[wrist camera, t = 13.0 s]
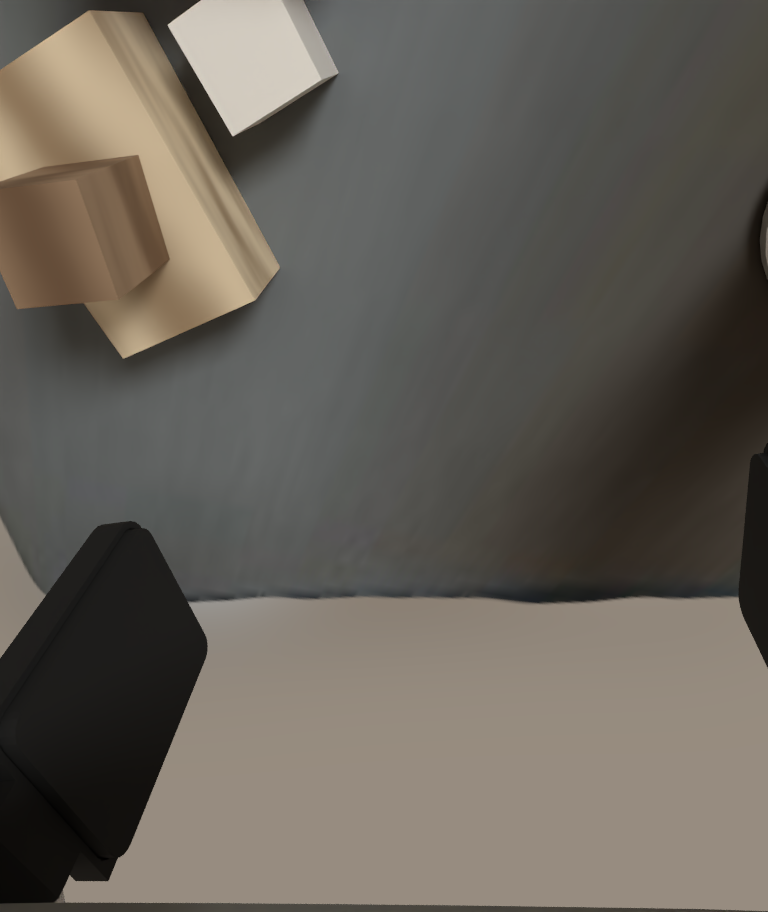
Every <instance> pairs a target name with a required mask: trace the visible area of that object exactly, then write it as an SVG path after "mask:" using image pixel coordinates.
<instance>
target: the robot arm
mask: <svg viewBox="0 0 768 912" xmlns="http://www.w3.org/2000/svg"><path fill="white" fill-rule="evenodd" d="M760 250H761V261H762V264H763V267H764V270H765V274H766V277H767V279H768V202H767V206H766V209H765V212H764V215H763V219H762V226H761V234H760ZM739 603H740V608H741V611H742V614H743V617H744V619H745V621H746V623H747V625H748V628H749V630H750V632H751V634H752V636H753V638H754V640H755V642H756V644H757V646H758V648H759V650H760V653H761V655H762V657H763V659H764V661H765V663H766V665H767V667H768V443H767V444H766V446H765V448H764V453H760V454H754V455H753V456H752V458H751V462H750V471H749V482H748V493H747V504H746V515H745V526H744V537H743V548H742V559H741V570H740V581H739ZM206 655H207V639H206V636H205V634H204V632H203V630H202V628H201V626H200V624H199V622H198V621H197V619H196V617H195V615H194V613H193V611H192V609H191V607H190V606H189V604H188V602H187V600H186V598H185V596H184V594H183V593H182V591H181V589H180V587H179V585H178V583H177V581H176V579H175V578H174V576H173V574H172V572H171V570H170V568H169V566H168V564H167V563H166V561H165V559H164V557H163V555H162V553H161V551H160V549H159V548H158V546H157V544H156V542H155V540H154V538H153V536H152V535H151V533H150V532H149V531H148V530H147V529H143V528H141V526H140V525H139V524H137V523H136V522H132V521H128V522H120V523H112V524H104V525H100V526H98V527H97V528H96V529H95V530H94V531H93V532H92V533H91V535H90V536H89V537H88V539H87V540H86V542H85V543H84V544H83V546H82V547H81V548H80V550H79V551H78V553H77V554H76V555H75V557H74V558H73V559H72V561H71V562H70V564H69V565H68V566H67V568H66V569H65V570H64V572H63V573H62V574H61V576H60V577H59V579H58V580H57V581H56V583H55V584H54V585H53V587H52V588H51V590H50V591H49V592H48V594H47V595H46V596H45V598H44V599H43V601H42V602H41V603H40V605H39V606H38V607H37V609H36V610H35V611H34V613H33V614H32V616H31V617H30V618H29V620H28V621H27V623H26V624H25V625H24V627H23V628H22V629H21V631H20V632H19V633H18V635H17V636H16V638H15V639H14V640H13V642H12V643H11V644H10V646H9V647H8V649H7V650H6V651H5V653H4V654H3V655H2V657H1V658H0V912H768V911H739V910H737V911H736V910H708V909H707V910H705V909H654V908H653V909H652V908H650V909H649V908H586V907H520V906H519V907H518V906H448V905H446V906H445V905H442V906H441V905H352V904H350V905H348V904H343V905H342V904H240V903H238V904H237V903H235V904H234V903H233V904H232V903H65V899H64V894H63V888H64V886H65V884H66V882H67V879H68V877H69V875H71V877H72V878H73V879H74V880H75V881H108V880H109V878H110V875H111V873H112V871H113V868H114V866H115V863H116V861H117V859H118V857H120V856H122V855H124V853H125V852H126V851H127V850H128V848H129V846H130V844H131V842H132V839H133V836H134V834H135V832H136V829H137V826H138V824H139V822H140V819H141V817H142V814H143V812H144V809H145V807H146V804H147V802H148V800H149V797H150V794H151V792H152V789H153V787H154V785H155V782H156V780H157V777H158V775H159V772H160V769H161V767H162V765H163V762H164V760H165V757H166V755H167V753H168V750H169V748H170V745H171V743H172V740H173V737H174V735H175V732H176V730H177V728H178V725H179V723H180V720H181V718H182V715H183V713H184V710H185V708H186V706H187V703H188V700H189V698H190V696H191V693H192V691H193V688H194V686H195V683H196V681H197V678H198V676H199V673H200V671H201V668H202V666H203V664H204V661H205V659H206Z"/></svg>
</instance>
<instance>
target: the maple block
mask: <svg viewBox="0 0 768 912" xmlns="http://www.w3.org/2000/svg"><path fill="white" fill-rule="evenodd" d="M133 155H139V159H140V162H141V165H142V169H143V172H144V175H145V179H146V182H147V185H148V188H149V192H150V195H151V198H152V202H153V205H154V208H155V212H156V215H157V218H158V222H159V225H160V228H161V232H162V235H163V238H164V241H165V245H166V248H167V251H168V255H169V258H170V260H168V261H167V262H166V263H165V264H163V265H162V266H161V267H159V268H158V269H157V270H156V271H154V272H153V273H152V274H151V275H149V276H148V277H147V278H146V279H144V280H143V281H142V282H141V283H139V284H138V285H137V286H136V287H134V288H133V289H132V290H130V291H129V292H128V293H127V294H125V295H124V296H123V297H122V298H120V299H119V300H110V301H99V302H88V303H84V304H85V306H86V307H87V309H88V310H89V311H90V313H91V314H92V316H93V317H94V318H95V320H96V321H97V323H98V324H99V325H100V327H101V328H102V330H103V331H104V333H105V334H106V335H107V337H108V338H109V340H110V341H111V342H112V344H113V345H114V347H115V348H116V349H117V351H118V352H119V354H120V355H121V356H122V358H123V359H124V358H127V357H129V356H131V355H133V354H136V353H138V352H140V351H142V350H145V349H147V348H149V347H151V346H154V345H156V344H158V343H160V342H163V341H165V340H167V339H169V338H172V337H174V336H176V335H178V334H181V333H183V332H185V331H187V330H190V329H192V328H194V327H196V326H199V325H201V324H203V323H205V322H208V321H210V320H212V319H214V318H217V317H219V316H221V315H223V314H226V313H228V312H230V311H232V310H235V309H237V308H239V307H242V306H244V305H246V304H248V303H251V302H253V301H255V300H256V299H257V297H258V296H259V295H260V293H261V292H262V291H263V289H264V288H265V287H266V286H267V284H268V283H269V282H270V280H271V279H272V278H273V276H274V275H275V274H276V272H277V271H278V270H279V268H280V266H279V264H278V263H277V261H276V259H275V257H274V255H273V253H272V251H271V250H270V248H269V246H268V244H267V242H266V240H265V238H264V237H263V235H262V233H261V231H260V229H259V227H258V225H257V224H256V222H255V220H254V218H253V216H252V214H251V212H250V211H249V209H248V207H247V205H246V203H245V201H244V199H243V198H242V196H241V194H240V192H239V190H238V188H237V186H236V185H235V183H234V181H233V179H232V177H231V175H230V173H229V172H228V170H227V168H226V166H225V164H224V162H223V160H222V159H221V157H220V155H219V153H218V151H217V149H216V147H215V146H214V144H213V142H212V140H211V138H210V136H209V134H208V133H207V131H206V129H205V127H204V125H203V123H202V121H201V120H200V118H199V116H198V114H197V112H196V110H195V108H194V107H193V105H192V103H191V101H190V99H189V97H188V95H187V94H186V92H185V90H184V88H183V86H182V84H181V82H180V81H179V79H178V77H177V75H176V73H175V71H174V69H173V68H172V66H171V64H170V62H169V60H168V58H167V56H166V55H165V53H164V51H163V49H162V47H161V45H160V43H159V42H158V40H157V38H156V36H155V34H154V32H153V30H152V29H151V27H150V25H149V23H148V21H147V19H146V17H145V16H144V14H143V13H140V12H116V11H92V10H89V11H87V12H86V13H84V14H83V15H81V16H80V17H79V18H77V19H76V20H74V21H73V22H71V23H70V24H68V25H67V26H65V27H64V28H62V29H61V30H59V31H58V32H56V33H55V34H53V35H52V36H50V37H49V38H47V39H46V40H44V41H43V42H41V43H40V44H38V45H37V46H35V47H34V48H32V49H31V50H29V51H28V52H26V53H25V54H23V55H22V56H20V57H19V58H17V59H16V60H14V61H13V62H11V63H10V64H9V65H7V66H6V67H4V68H3V69H1V70H0V181H3V180H6V179H9V178H12V177H15V176H18V175H21V174H24V173H27V172H30V171H33V170H36V169H39V168H42V167H47V166H55V165H63V164H70V163H78V162H86V161H94V160H102V159H110V158H118V157H125V156H133Z"/></svg>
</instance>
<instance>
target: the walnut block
mask: <svg viewBox="0 0 768 912" xmlns="http://www.w3.org/2000/svg"><path fill="white" fill-rule="evenodd" d="M168 260H170V258H169V255H168V251H167V248H166V245H165V241H164V238H163V235H162V232H161V228H160V225H159V222H158V218H157V215H156V212H155V208H154V205H153V202H152V198H151V195H150V192H149V188H148V185H147V182H146V179H145V175H144V172H143V169H142V165H141V162H140V159H139V155H133V156H125V157H118V158H110V159H102V160H94V161H86V162H78V163H70V164H63V165H55V166H47V167H42V168H39V169H36V170H33V171H30V172H27V173H24V174H21V175H18V176H15V177H12V178H9V179H6V180H3V181H0V272H1V274H2V277H3V279H4V281H5V283H6V285H7V288H8V290H9V292H10V294H11V297H12V299H13V301H14V303H15V306H16V308H17V309H23V308H34V307H44V306H55V305H66V304H77V303H88V302H99V301H110V300H119V299H120V298H122V297H123V296H124V295H125V294H127V293H128V292H129V291H130V290H132V289H133V288H134V287H136V286H137V285H138V284H139V283H141V282H142V281H143V280H144V279H146V278H147V277H148V276H149V275H151V274H152V273H153V272H154V271H156V270H157V269H158V268H159V267H161V266H162V265H163V264H165V263H166V262H167V261H168Z"/></svg>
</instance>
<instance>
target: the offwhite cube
mask: <svg viewBox="0 0 768 912" xmlns="http://www.w3.org/2000/svg"><path fill="white" fill-rule="evenodd" d="M168 27H169V29H170V30H171V32H172V34H173V36H174V37H175V39H176V41H177V42H178V44H179V46H180V47H181V49H182V51H183V53H184V54H185V56H186V58H187V59H188V61H189V63H190V65H191V66H192V68H193V70H194V71H195V73H196V75H197V77H198V78H199V80H200V82H201V83H202V85H203V87H204V88H205V90H206V92H207V94H208V95H209V97H210V99H211V100H212V102H213V104H214V106H215V107H216V109H217V111H218V112H219V114H220V116H221V118H222V119H223V121H224V123H225V124H226V126H227V128H228V129H229V131H230V133H231V135H232V136H235V135H237V134H239V133H241V132H243V131H245V130H247V129H249V128H251V127H253V126H255V125H258V124H260V123H261V122H263V121H264V120H266V119H267V118H269V117H271V116H272V115H274V114H275V113H277V112H278V111H280V110H282V109H283V108H285V107H286V106H288V105H289V104H291V103H293V102H294V101H296V100H297V99H299V98H300V97H302V96H304V95H305V94H307V93H308V92H310V91H312V90H313V89H315V88H316V87H318V86H319V85H321V84H323V83H324V82H326V81H327V80H329V79H330V78H332V77H334V76H335V75H337V74H338V71H337V69H336V67H335V64H334V62H333V60H332V58H331V56H330V54H329V52H328V50H327V48H326V46H325V44H324V42H323V40H322V38H321V36H320V34H319V32H318V30H317V28H316V26H315V24H314V21H313V19H312V17H311V15H310V13H309V11H308V9H307V7H306V5H305V3H304V1H303V0H200V1H199V2H198V3H196V4H195V5H194V6H192V7H191V8H190V9H188V10H187V11H186V12H184V13H183V14H182V15H180V16H179V17H177V18H176V19H175V20H173V21H172V22H171V23H169V24H168Z"/></svg>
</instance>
